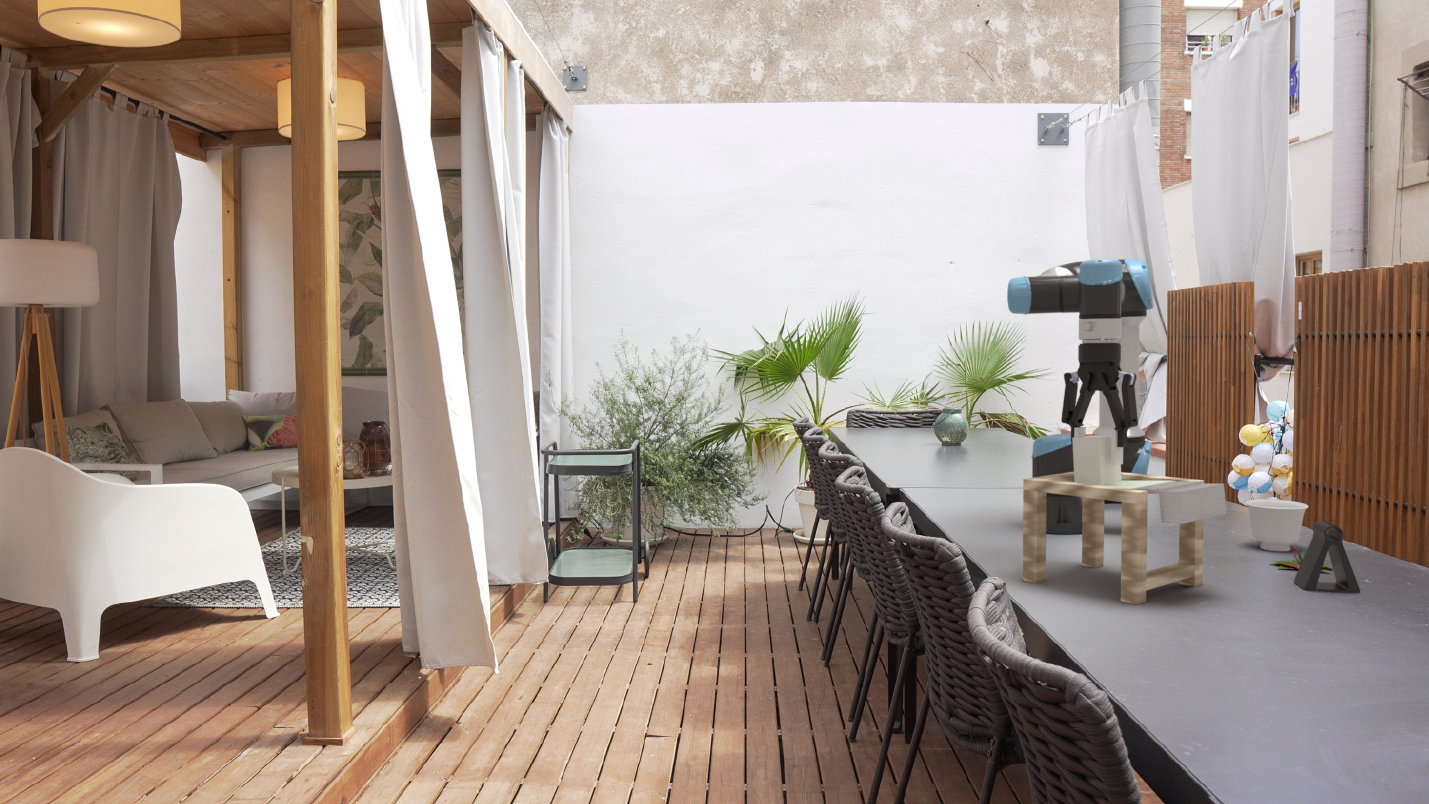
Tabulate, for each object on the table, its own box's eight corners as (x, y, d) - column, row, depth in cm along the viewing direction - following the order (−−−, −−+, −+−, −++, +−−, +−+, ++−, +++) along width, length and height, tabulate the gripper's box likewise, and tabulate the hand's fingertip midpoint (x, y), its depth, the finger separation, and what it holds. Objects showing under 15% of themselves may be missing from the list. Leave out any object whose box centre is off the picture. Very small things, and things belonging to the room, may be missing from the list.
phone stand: (1347, 585, 180) (1349, 521, 180) (1360, 593, 174) (1362, 526, 174) (1293, 582, 182) (1294, 519, 182) (1304, 590, 177) (1305, 525, 176)
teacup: (1284, 541, 221) (1285, 497, 220) (1318, 555, 206) (1319, 508, 206) (1229, 540, 222) (1229, 497, 222) (1258, 554, 207) (1259, 507, 207)
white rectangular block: (1074, 484, 186) (1072, 437, 186) (1095, 481, 190) (1092, 435, 190) (1101, 486, 181) (1098, 437, 181) (1121, 482, 186) (1119, 435, 186)
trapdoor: (1227, 513, 174) (1225, 480, 174) (1182, 523, 165) (1179, 489, 165) (1099, 510, 194) (1097, 480, 194) (1052, 519, 185) (1050, 488, 185)
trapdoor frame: (1022, 580, 186) (1023, 479, 185) (1090, 563, 200) (1091, 469, 199) (1137, 604, 168) (1138, 492, 167) (1202, 584, 182) (1204, 480, 181)
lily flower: (1268, 573, 193) (1269, 550, 192) (1267, 561, 203) (1267, 539, 203) (1340, 579, 187) (1341, 555, 187) (1335, 566, 197) (1335, 544, 197)
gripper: (1041, 342, 190) (1040, 459, 191) (1139, 341, 174) (1137, 469, 175) (1064, 342, 194) (1062, 456, 196) (1161, 341, 178) (1159, 465, 180)
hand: (1098, 462), depth 185 cm, fingers open, 7 cm apart
